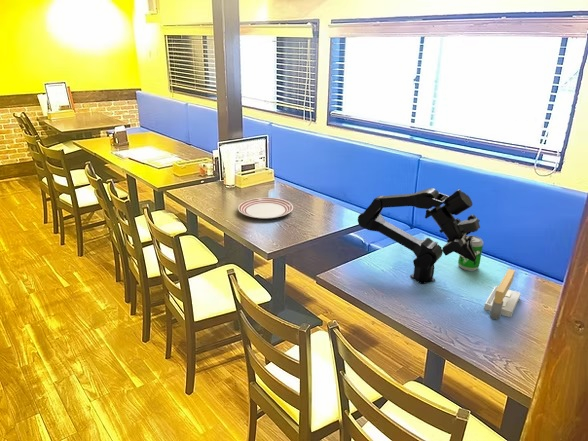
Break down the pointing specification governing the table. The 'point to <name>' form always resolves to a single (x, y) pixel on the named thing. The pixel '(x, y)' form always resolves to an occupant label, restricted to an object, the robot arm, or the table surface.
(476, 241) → the soda can
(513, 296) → the white flat block
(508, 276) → the bar
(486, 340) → the table surface
